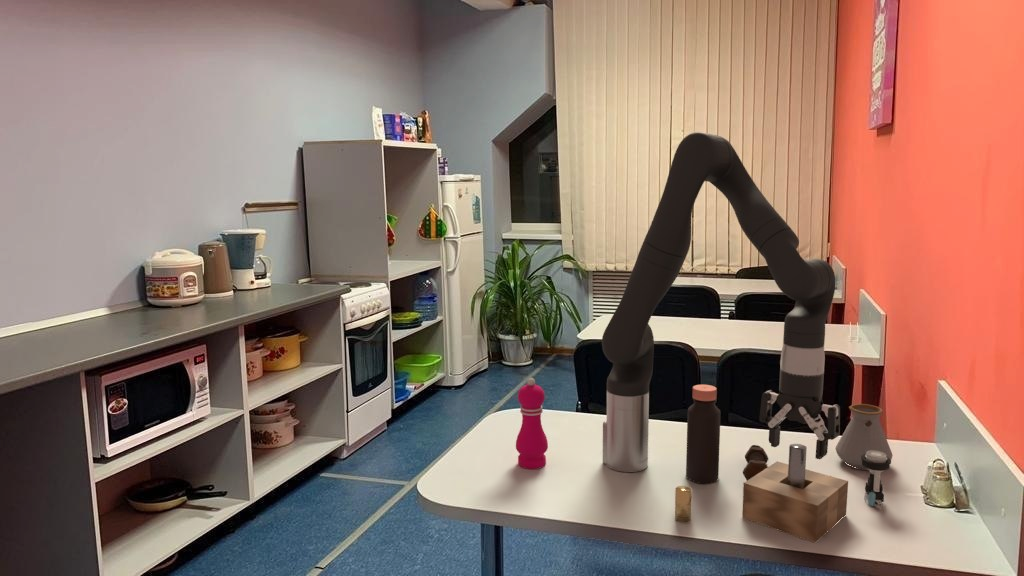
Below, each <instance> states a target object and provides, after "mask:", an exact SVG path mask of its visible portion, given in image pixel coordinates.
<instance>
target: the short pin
mask: <svg viewBox="0 0 1024 576" xmlns="http://www.w3.org/2000/svg"><path fill="white" fill-rule="evenodd" d="M692 494H693V489H692V488H691V487H689V486H687V485H677V486H676V487H675V494H674V495H675V496H674V499H675V500H674V520H675V521H676V522H677V523H678V522H679V523H681V524H682V523H683V524H685V523H686V524H687V523H689V522H691V521H692V499H693V498H692Z"/></svg>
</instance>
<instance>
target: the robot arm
mask: <svg viewBox="0 0 1024 576" xmlns="http://www.w3.org/2000/svg"><path fill="white" fill-rule="evenodd" d="M705 182H707V183H708V182H709V183H710V184H712V185H713V186H714V187H715V188H716V189H717V190H718V191H720V193H722V194H723V195H724V197H725V198H726V200H728V202H729V204H730V205H731V207H732V209H733V211H734V213H735V216H736V219H737V222H738V224H739V226H740V228H741V231H743V233H744V235H745V236H746V238H747V239H748V240H749V241H750V242H751V244H752V245H753V246H754V247H755V249H756V250H757V251H758V252H759V254H760V255H761V256H762V257H763V258H764V260H765V263H766V265H767V267H768V270H769V272H770V273H771V276H772V278H773V280H774V282H775V284H776V286H777V287H778V288H779V290H780V291H781V292H782V293H783V294H784V295H785V296H786V297H788V298H790V299H791V300H794V301H795V304H794V307H793V309H792V310H791V311H790V312H788V313H787V314H786V316H785V317H784V324H783V340H782V349H781V354H780V360H779V365H780V369H779V383H778V384H779V385H778V391H779V392H778V393H776V392H774V391H773V390H772V389H769V390H766V391H765V392H763V393H762V394H761V402H760V409H759V411H760V412H759V417H758V418H759V422H760V423H765V424H766V425H767V426H768V428H769V429H768V443H769V444H770V447H772V448H777V447H778V446H780V441H781V426H779V425H780V424H781V423H782V422H783V421H784V420H785V419H788V421H791V422H798V423H800V424H804V425H806V424H807V425H808V428H810V430H811V431H813V432H814V434H815V436H816V437H817V439H816V444H815V460H816V459H817V460H821V459H823V458H824V457H825V456H826V455H828V447H829V440H830V441H832V440H835V439H836V438H837V437H839V436H840V434H841V407H840V405H839V404H837V403H836V404H833V405H830V404H824V402H823V391H824V380H825V379H824V377H825V376H824V375H825V362H826V361H825V360H826V357H825V355H826V353H825V341H826V339H825V338H826V322H827V320H828V316H829V314H830V310H831V306H832V303H833V299H834V296H835V293H836V292H835V291H836V286H837V285H836V284H837V283H836V276H835V270H834V268H833V267H832V265H830V263H829V262H827V261H826V260H824V259H821V258H811V259H806V260H805V259H804V258H803V257H802V256H801V255H800V253H799V251H798V247H799V245H800V240H799V238H798V236H797V234H796V233H795V232H794V231H793V229H792V228H791V226H790V225H789V224H788V223H787V222H786V221H785V220H784V219H783V217H782V216H781V215H780V214H779V212H778V211H777V210H776V209H775V208H774V206H773V205H772V204H771V203H770V202H769V201H768V199H767V198H766V197H765V196H764V193H762V192H761V190H760V189H759V187H758V186H757V183H755V181H754V180H753V178H752V177H751V175H750V174H749V172H748V171H747V168H746V167H745V165H744V163H743V162H742V160H741V159H740V156H739V155H738V153H737V152H736V150H735V148H734V147H733V145H732V143H731V142H730V141H729V140H728V139H726V138H725V137H723V136H720V135H717V134H713V133H707V132H702V131H696V132H691V133H689V134H687V135H686V136H685V137H683V138H682V140H681V141H680V142H679V144H678V146H677V147H676V150H675V152H674V156H673V159H672V161H671V165H670V168H669V172H668V176H667V179H666V182H665V185H664V189H663V192H662V195H661V197H660V200H659V203H658V206H657V208H656V210H655V212H654V216H653V218H652V221H651V223H650V226H649V228H648V231H646V232H647V233H646V235H645V237H644V240H643V242H642V244H641V247H640V250H639V252H638V253H637V254H638V255H637V257H636V260H635V263H634V266H633V267H632V271H631V273H630V276H629V279H628V280H627V284H626V286H625V289H624V292H623V294H622V297H621V300H620V302H619V303H618V305H617V308H616V309H615V311H614V312H613V315H612V316H611V318H610V320H609V322H608V323H607V326H606V328H605V329H604V332H603V335H602V338H601V348H602V352H603V354H604V356H605V358H606V359H607V360H608V361H609V362H611V363H612V367H611V370H610V373H609V375H608V376H607V378H606V420H605V421H603V423H602V463H603V464H605V465H606V466H607V467H608V468H609V469H612V470H614V471H616V472H617V471H618V472H623V473H637V472H641V471H643V470H645V469H647V468H648V464H649V460H648V459H649V422H650V421H649V420H650V419H649V413H650V410H649V409H650V384H651V380H652V376H653V372H654V371H653V369H654V354H655V353H654V350H655V339H654V332H653V330H652V327H651V325H650V324H649V323H650V320H651V318H652V315H653V314H654V312H655V310H656V308H657V307H658V305H659V303H660V302H661V301H662V300H663V298H664V297H665V295H666V294H667V293H668V291H669V290H670V288H671V287H672V286H673V284H674V283H675V280H676V279H677V277H678V276H679V273H680V272H681V270H682V267H683V265H684V262H685V260H686V258H687V255H688V253H689V251H690V247H691V243H692V214H693V209H694V206H695V202H696V200H697V198H698V195H699V194H700V190H701V188H702V187H703V184H704V183H705ZM775 402H776V403H777V404H778V406H779V407H780V410H779V411H778V412H777V413H776V414H775V415H774V416H772V414H773V413H772V411H773V404H775ZM822 412H823V413H824V414H825V417H826V418H827V427H826V425H825V421H824V419H823V417H821V413H822Z"/></svg>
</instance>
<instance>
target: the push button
mask: <svg viewBox="0 0 1024 576" xmlns="http://www.w3.org/2000/svg"><path fill="white" fill-rule="evenodd" d="M861 460H862V465H863V466H864V467H866V468H867V469H868V470H870V471H869V474H868V475H869V476H868V477H867V482H865V486H864V491H865V492H864V498H863V500H864V502H867V501H868V503H869V505H870V506H871V507H873V508H874V507H876V508H877V509H880V510H882V509H883V507H882V505H883V503H884V501H885V499H884V498H885V494H884V493H883V489H884V486H883V484H882V481H881V473H883V472H885V471H887V470H888V469H890V467H891V466H890V465H891V464H892V459H889V458H888V457H886V454H885V453H883V452H880V451H874V450H871V451H867V452H866V454H863V455H862V456H861Z"/></svg>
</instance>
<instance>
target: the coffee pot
mask: <svg viewBox="0 0 1024 576" xmlns="http://www.w3.org/2000/svg"><path fill="white" fill-rule="evenodd" d="M848 409H849V410H850V412H851V413H852V417H851V419H850V420H849V422H848V425H847V426H846V428H845V430H844V432H843V433H842V435H841V437H840V439H838V440H839V441H838V442H837V444H836V446H835V452H836V454H837V456H838V457H839V459H840V460H842V462H843V463H844V462H846V463H847V464H849V465H851V466H853V467H856V468H858V469H857V470H860V469H862V470H861V471H868V472H870V470H868V469H867V468H866V467H864V466H863V465H862V460H861V456H862V455H863V454H866V452H867V451H871V450H874V451H880V452H883V453H885V454H886V457H888V458H889V459H891V460H893V451H892V449H891V447H890V444H889V442H888V440H887V436H886V434H885V432H884V429H883V427H882V424H881V421H880V419H879V418H880V416H881V414H882V413H883V409H882V408H881V407H879V406H876V405H872V404H866V403H855V404H852V405H850V406H848ZM856 468H855V469H856Z"/></svg>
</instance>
